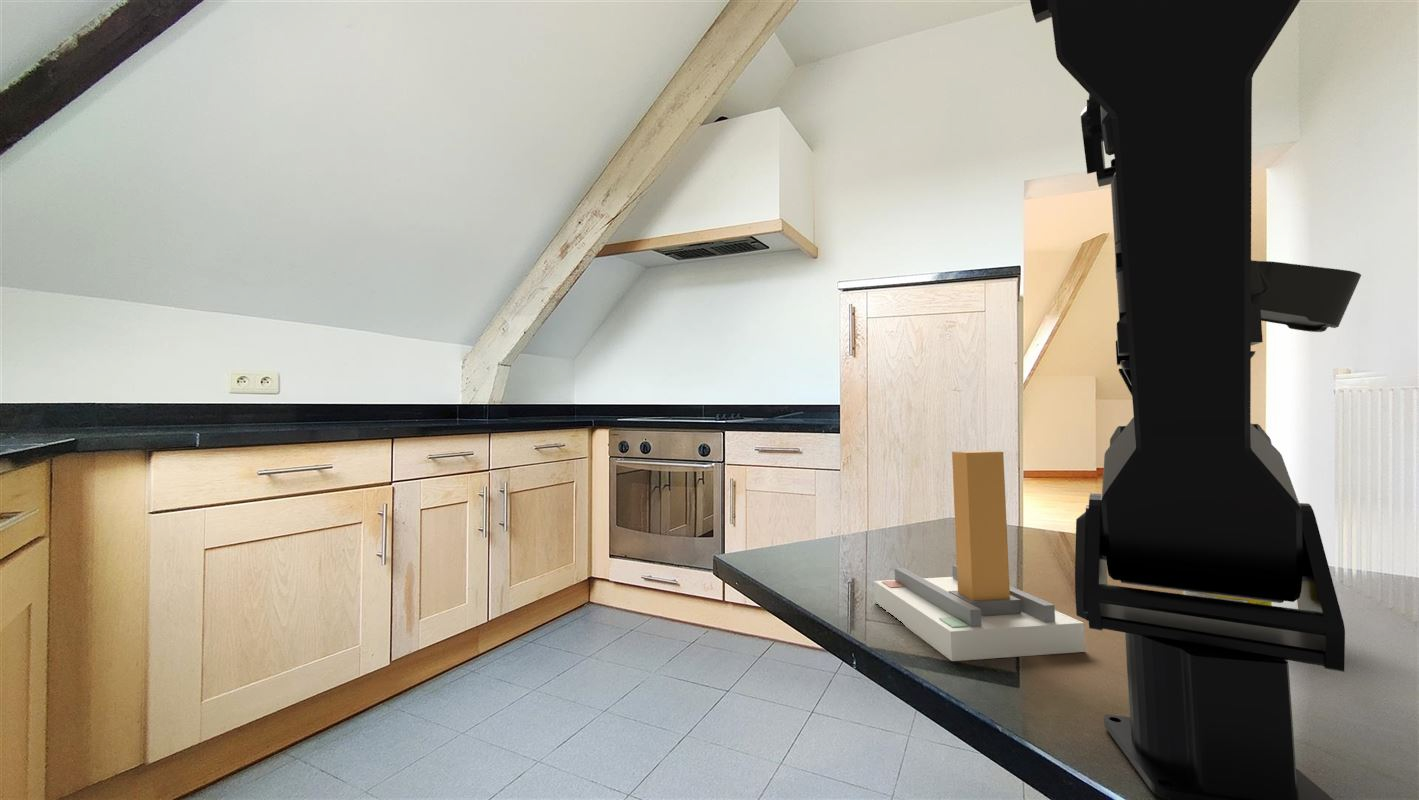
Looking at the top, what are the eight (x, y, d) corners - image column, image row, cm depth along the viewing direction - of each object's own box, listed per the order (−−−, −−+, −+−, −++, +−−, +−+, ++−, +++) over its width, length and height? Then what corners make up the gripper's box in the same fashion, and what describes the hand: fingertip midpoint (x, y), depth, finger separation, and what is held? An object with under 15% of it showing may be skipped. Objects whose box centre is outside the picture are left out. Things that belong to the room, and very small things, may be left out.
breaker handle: (1021, 613, 42) (1013, 451, 42) (970, 616, 41) (963, 453, 42) (996, 601, 45) (989, 450, 45) (948, 603, 44) (942, 451, 45)
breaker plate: (1085, 651, 40) (1082, 605, 40) (951, 661, 38) (949, 613, 39) (977, 597, 52) (975, 562, 53) (874, 603, 51) (873, 567, 51)
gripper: (1399, 155, 26) (1423, 486, 26) (1295, 242, 42) (1309, 452, 41) (1110, 213, 33) (1126, 478, 33) (1110, 270, 48) (1122, 451, 48)
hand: (1179, 463), depth 38 cm, fingers open, 9 cm apart
